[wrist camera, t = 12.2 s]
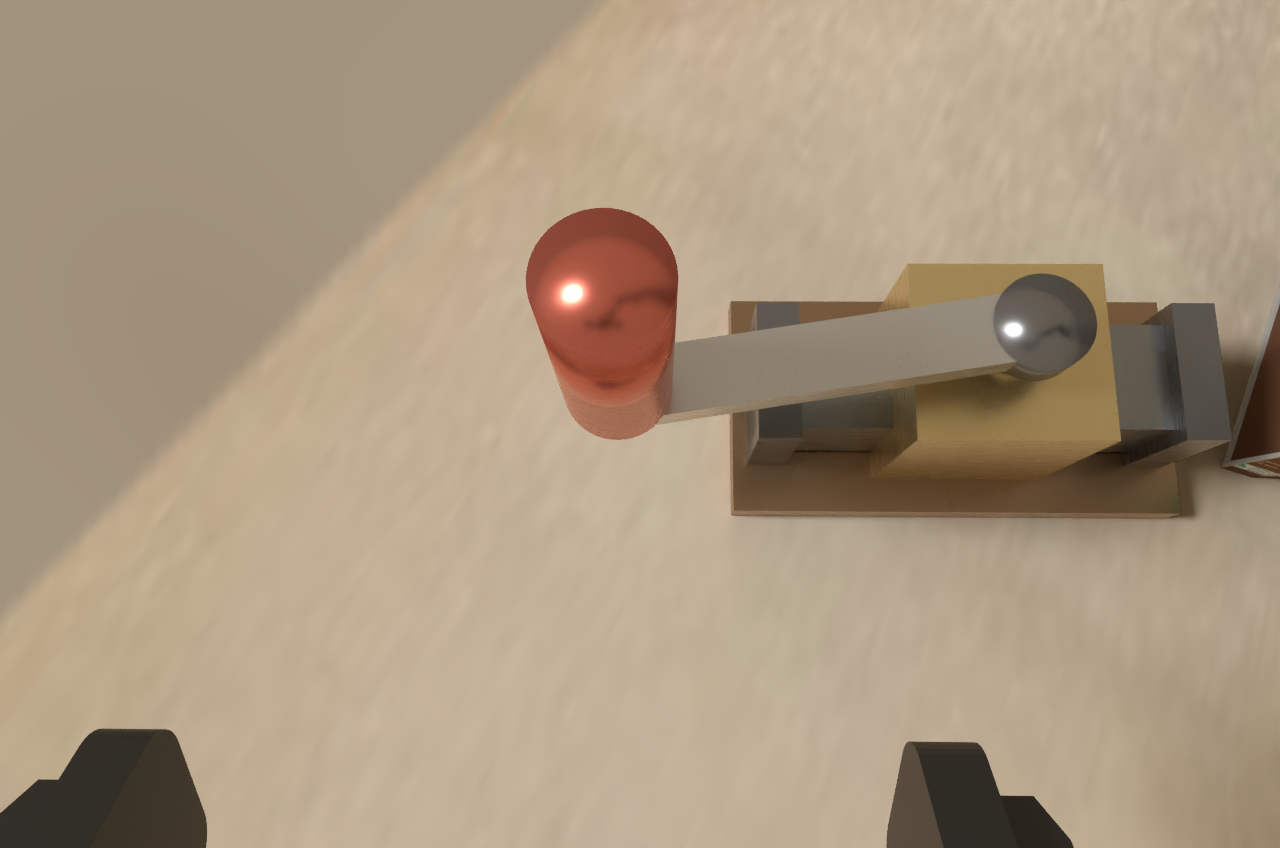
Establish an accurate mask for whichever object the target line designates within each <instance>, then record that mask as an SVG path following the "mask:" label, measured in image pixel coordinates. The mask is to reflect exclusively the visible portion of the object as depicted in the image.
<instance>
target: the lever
mask: <svg viewBox="0 0 1280 848" xmlns="http://www.w3.org/2000/svg"><path fill="white" fill-rule="evenodd" d="M526 289H527V294H528V299H529V302H530V305H531V307H532V310H533V313H534V316H535V318H536V321H537V324H538V327H539V330H540V332H541V335H542V338H543V341H544V343H545V346H546V349H547V352H548V354H549V357H550V360H551V363H552V366H553V368H554V371H555V374H556V377H557V379H558V382H559V385H560V388H561V390H562V393H563V396H564V399H565V401H566V404H567V407H568V409H569V411H570V413H571V415H572V416H573V418H574V419H575V420H576V421H577V422H578V424H579V425H580V426H582V427H583V428H584V429H585V430H587V431H589V432H590V433H592V434H594V435H596V436H599V437H602V438H606V439H613V440H621V439H629V438H633V437H636V436H639V435H641V434H643V433H645V432H647V431H648V430H650V429H651V428H652V427H654V426H655V425H658V424H665V423H671V422H678V421H685V420H691V419H698V418H704V417H711V416H717V415H724V414H731V413H737V412H744V411H750V410H757V409H763V408H770V407H777V406H783V405H790V404H796V403H803V402H809V401H816V400H822V399H829V398H836V397H842V396H849V395H855V394H862V393H868V392H875V391H882V390H888V389H895V388H901V387H908V386H914V385H921V384H928V383H934V382H941V381H947V380H954V379H960V378H967V377H974V376H980V375H987V374H993V373H1000V372H1005V373H1007V374H1009V375H1010V376H1013V377H1015V378H1018V379H1021V380H1026V381H1043V380H1047V379H1050V378H1053V377H1055V376H1057V375H1059V374H1061V373H1062V372H1063V371H1065V370H1066V369H1068V368H1069V367H1071V366H1072V365H1073V364H1075V363H1076V362H1078V361H1079V360H1080V359H1082V358H1083V357H1084V356H1085V355H1086V354H1087V353H1088V351H1089V350H1090V349H1091V347H1092V345H1093V343H1094V341H1095V338H1096V333H1097V318H1096V313H1095V310H1094V307H1093V305H1092V303H1091V301H1090V300H1089V298H1088V297H1087V295H1086V294H1085V293H1084V292H1083V291H1082V290H1081V289H1080V288H1079V287H1078V286H1077V285H1075V284H1074V283H1072V282H1071V281H1069V280H1067V279H1065V278H1062V277H1060V276H1056V275H1052V274H1043V273H1039V274H1031V275H1027V276H1024V277H1021V278H1020V279H1018V280H1016V281H1014V282H1013V283H1011V284H1010V285H1009V286H1008V287H1007V288H1006V289H1005V290H1004V291H1003V292H1002V293H1001V294H996V295H990V296H983V297H977V298H970V299H963V300H957V301H950V302H943V303H937V304H930V305H924V306H917V307H910V308H904V309H897V310H890V311H884V312H877V313H871V314H864V315H857V316H851V317H844V318H837V319H831V320H824V321H817V322H811V323H804V324H798V325H791V326H784V327H778V328H771V329H764V330H758V331H751V332H745V333H738V334H731V335H725V336H718V337H711V338H705V339H698V340H691V341H685V342H678V343H675V328H676V309H677V291H678V270H677V264H676V260H675V257H674V254H673V252H672V249H671V247H670V246H669V244H668V242H667V241H666V239H665V238H664V237H663V235H662V234H661V233H660V232H659V231H658V230H657V229H656V228H655V227H654V226H653V225H651V224H650V223H649V222H648V221H646V220H644V219H643V218H641V217H639V216H637V215H635V214H632V213H630V212H626V211H623V210H619V209H612V208H595V209H588V210H583V211H580V212H577V213H574V214H571V215H569V216H567V217H565V218H563V219H562V220H560V221H559V222H557V223H556V224H554V225H553V226H552V227H551V228H550V229H548V230H547V232H546V233H545V234H544V235H543V236H542V237H541V238H540V240H539V241H538V243H537V244H536V246H535V248H534V250H533V252H532V254H531V257H530V259H529V262H528V267H527V273H526Z"/></svg>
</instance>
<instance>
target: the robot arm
mask: <svg viewBox="0 0 1280 848" xmlns="http://www.w3.org/2000/svg"><path fill="white" fill-rule="evenodd" d="M206 842H207V823H206V817H205V813H204V810H203V807H202V805H201V802H200V799H199V797H198V794H197V791H196V788H195V786H194V783H193V780H192V777H191V775H190V772H189V769H188V767H187V764H186V761H185V758H184V756H183V753H182V750H181V747H180V745H179V742H178V740H177V738H176V736H175V735H174V733H173V732H171V731H170V730H166V729H98V730H95V731H93V732H92V733H91V734H89V735H88V736H87V737H86V738H85V739H84V741H83V742H82V743H81V745H80V746H79V748H78V749H77V751H76V753H75V754H74V756H73V757H72V759H71V761H70V762H69V764H68V765H67V767H66V769H65V770H64V772H63V773H62V775H61V777H60V778H59V780H38V781H36V782H35V783H34V784H33V785H32V786H31V787H30V788H28V789H27V790H26V791H25V792H24V793H23V794H22V795H21V796H19V797H18V798H17V799H16V800H15V801H14V802H13V803H12V804H10V805H9V806H8V807H7V808H6V809H5V810H4V811H2V812H1V813H0V848H206ZM887 848H1074V847H1073V845H1072V842H1071V840H1070V839H1069V838H1068V836H1067V835H1066V834H1065V833H1064V832H1063V830H1062V829H1061V828H1060V827H1059V826H1058V825H1057V823H1056V822H1055V821H1054V820H1053V819H1052V817H1051V816H1050V815H1049V814H1048V813H1047V812H1046V810H1045V809H1044V808H1043V807H1042V806H1041V805H1040V803H1039V802H1038V801H1037V800H1036V799H1035V797H1034V796H1000V794H999V791H998V788H997V785H996V782H995V779H994V777H993V774H992V771H991V768H990V765H989V762H988V759H987V757H986V754H985V752H984V750H983V749H982V747H981V746H980V745H979V744H978V743H973V742H907V743H906V745H905V747H904V750H903V754H902V759H901V764H900V769H899V774H898V779H897V784H896V789H895V794H894V799H893V804H892V809H891V814H890V819H889V824H888V830H887Z"/></svg>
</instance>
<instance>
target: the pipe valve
mask: <svg viewBox="0 0 1280 848" xmlns="http://www.w3.org/2000/svg"><path fill="white" fill-rule="evenodd" d="M1039 273H1043V274H1052V275H1056V276H1060V277H1062V278H1065V279H1067V280H1069V281H1071V282H1072V283H1074V284H1075V285H1077V286H1078V287H1079V288H1080V289H1081V290H1082V291H1083V292H1084V293H1085V294H1086V295H1087V297H1088V298H1089V300H1090V301H1091V303H1092V305H1093V307H1094V310H1095V313H1096V318H1097V333H1096V338H1095V341H1094V343H1093V345H1092V347H1091V349H1090V350H1089V351H1088V353H1087V354H1086V355H1085V356H1084V357H1083V358H1082V359H1080V360H1079V361H1078V362H1076V363H1075V364H1073V365H1072V366H1071V367H1069V368H1068V369H1066V370H1065V371H1063V372H1062V373H1061V374H1059V375H1057V376H1055V377H1053V378H1050V379H1047V380H1043V381H1026V380H1021V379H1018V378H1015V377H1013V376H1010V375H1009V374H1007V373H1005V372H1000V373H993V374H987V375H980V376H974V377H967V378H960V379H954V380H947V381H941V382H934V383H928V384H921V385H914V386H908V387H901V388H895V389H888V390H882V391H875V392H868V393H862V394H855V395H849V396H842V397H836V398H829V399H822V400H816V401H809V402H803V403H796V404H790V405H783V406H777V407H770V408H763V409H757V410H750V411H744V412H737V413H731V414H730V460H731V515H750V516H898V517H1046V518H1167V517H1171V516H1175V515H1178V514H1181V507H1180V499H1179V490H1178V482H1177V473H1176V465H1175V462H1176V461H1179V460H1182V459H1184V458H1187V457H1190V456H1192V455H1195V454H1197V453H1200V452H1203V451H1205V450H1208V449H1211V448H1213V447H1216V446H1219V445H1221V444H1224V443H1227V442H1229V441H1232V434H1231V427H1230V419H1229V412H1228V404H1227V396H1226V389H1225V381H1224V374H1223V366H1222V359H1221V351H1220V343H1219V336H1218V328H1217V321H1216V313H1215V305H1214V303H1171V304H1170V305H1168V306H1167V307H1165V308H1164V309H1162V310H1161V311H1159V312H1157V303H1133V302H1106V292H1105V283H1104V273H1103V264H907V266H906V268H905V269H904V271H903V272H902V274H901V275H900V277H899V279H898V280H897V282H896V283H895V285H894V286H893V288H892V290H891V291H890V293H889V294H888V296H887V297H886V299H885V301H884V302H747V301H731V304H730V308H729V335H731V334H738V333H745V332H751V331H758V330H764V329H771V328H778V327H784V326H791V325H798V324H804V323H811V322H817V321H824V320H831V319H837V318H844V317H851V316H857V315H864V314H871V313H877V312H884V311H890V310H897V309H904V308H910V307H917V306H924V305H930V304H937V303H943V302H950V301H957V300H963V299H970V298H977V297H983V296H990V295H996V294H1001V293H1002V292H1003V291H1004V290H1005V289H1006V288H1007V287H1008V286H1009V285H1010V284H1011V283H1013V282H1014V281H1016V280H1018V279H1020V278H1021V277H1024V276H1027V275H1031V274H1039Z"/></svg>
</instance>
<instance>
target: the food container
mask: <svg viewBox="0 0 1280 848" xmlns="http://www.w3.org/2000/svg"><path fill="white" fill-rule="evenodd" d="M1221 468H1224V469H1227V470H1230V471H1233V472H1237V473H1240V474H1243V475H1246V476H1249V477H1255V478H1276V479H1280V282H1279V286H1278V289H1277V292H1276V295H1275V298H1274V302H1273V305H1272V308H1271V311H1270V314H1269V317H1268V321H1267V324H1266V327H1265V330H1264V333H1263V336H1262V340H1261V343H1260V346H1259V349H1258V352H1257V356H1256V359H1255V362H1254V365H1253V368H1252V371H1251V375H1250V378H1249V381H1248V384H1247V387H1246V390H1245V394H1244V397H1243V400H1242V403H1241V406H1240V410H1239V413H1238V416H1237V419H1236V422H1235V425H1234V429H1233V432H1232V441H1229V444H1228V448H1227V451H1226V454H1225V457H1224V460H1223V464H1222V467H1221Z"/></svg>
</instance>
